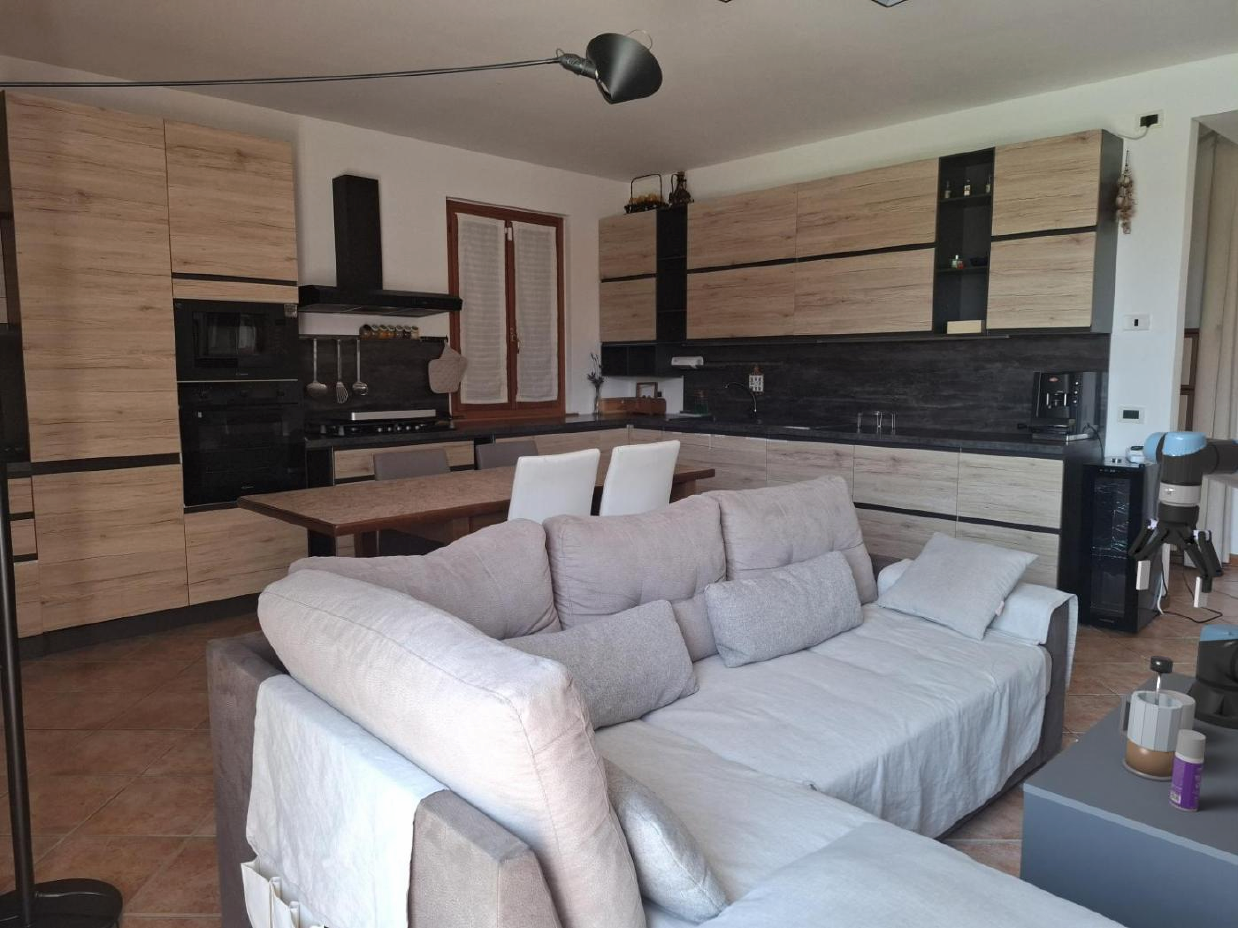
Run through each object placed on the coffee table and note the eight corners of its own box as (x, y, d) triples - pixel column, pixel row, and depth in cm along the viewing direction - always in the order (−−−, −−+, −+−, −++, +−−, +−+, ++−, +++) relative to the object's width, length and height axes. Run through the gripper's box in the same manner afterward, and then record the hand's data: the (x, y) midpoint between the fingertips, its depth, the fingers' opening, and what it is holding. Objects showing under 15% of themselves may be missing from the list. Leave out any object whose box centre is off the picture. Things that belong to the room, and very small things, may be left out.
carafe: (1136, 750, 189) (1144, 683, 187) (1188, 778, 177) (1197, 706, 175) (1101, 755, 186) (1109, 687, 184) (1151, 784, 174) (1160, 711, 172)
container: (1198, 814, 163) (1207, 742, 161) (1169, 806, 166) (1178, 735, 163) (1196, 803, 167) (1205, 732, 165) (1168, 796, 170) (1177, 726, 167)
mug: (1184, 754, 188) (1189, 707, 186) (1141, 740, 194) (1146, 695, 193) (1199, 738, 196) (1205, 694, 194) (1158, 725, 202) (1163, 682, 201)
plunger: (1151, 729, 183) (1160, 652, 181) (1176, 742, 177) (1185, 663, 175) (1129, 732, 181) (1138, 655, 179) (1154, 745, 176) (1163, 665, 173)
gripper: (1115, 494, 191) (1108, 583, 194) (1224, 515, 168) (1213, 616, 171) (1139, 492, 194) (1132, 580, 197) (1250, 512, 170) (1239, 612, 174)
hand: (1170, 597), depth 184 cm, fingers open, 13 cm apart
